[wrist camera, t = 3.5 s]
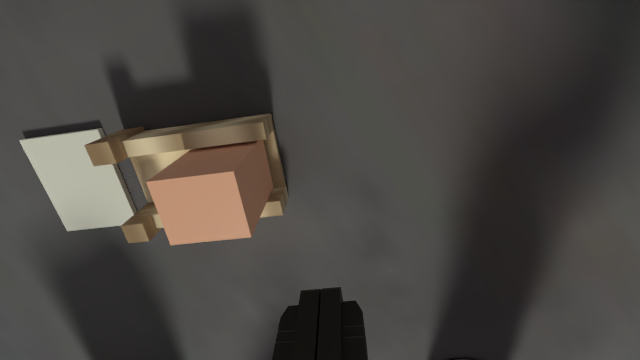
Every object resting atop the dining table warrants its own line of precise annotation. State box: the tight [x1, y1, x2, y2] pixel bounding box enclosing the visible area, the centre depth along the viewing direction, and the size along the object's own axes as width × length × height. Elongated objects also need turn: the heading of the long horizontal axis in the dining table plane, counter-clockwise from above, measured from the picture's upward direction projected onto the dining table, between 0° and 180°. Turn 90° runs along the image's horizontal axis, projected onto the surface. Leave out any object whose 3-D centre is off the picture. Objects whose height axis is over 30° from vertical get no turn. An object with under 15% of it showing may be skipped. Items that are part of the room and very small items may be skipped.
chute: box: [84, 113, 288, 243], centre depth 28 cm, size 14×9×5 cm, turn 98°
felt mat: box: [19, 128, 137, 231], centre depth 31 cm, size 8×10×1 cm
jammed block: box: [146, 140, 273, 245], centre depth 25 cm, size 6×5×8 cm
